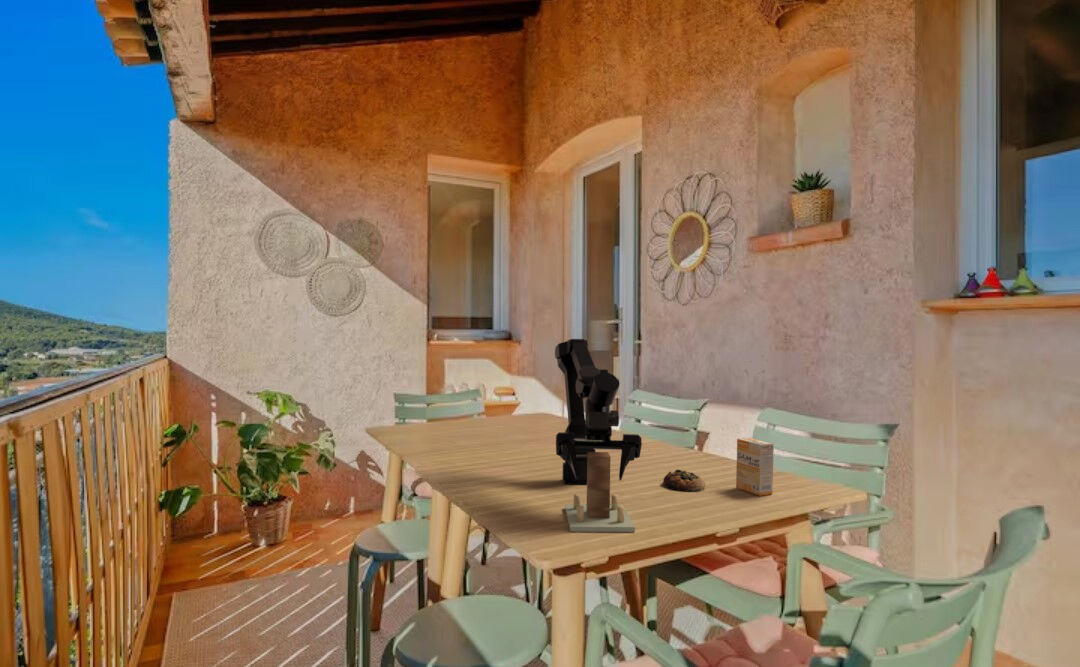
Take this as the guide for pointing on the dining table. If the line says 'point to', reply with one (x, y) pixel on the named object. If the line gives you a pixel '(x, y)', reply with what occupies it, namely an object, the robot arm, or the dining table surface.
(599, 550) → the dining table surface
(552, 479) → the dining table surface
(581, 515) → the pin plate
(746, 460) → the supplement box
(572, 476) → the robot arm
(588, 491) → the walnut block
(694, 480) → the bread roll
